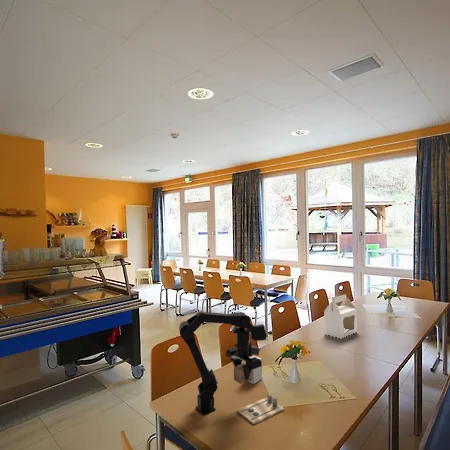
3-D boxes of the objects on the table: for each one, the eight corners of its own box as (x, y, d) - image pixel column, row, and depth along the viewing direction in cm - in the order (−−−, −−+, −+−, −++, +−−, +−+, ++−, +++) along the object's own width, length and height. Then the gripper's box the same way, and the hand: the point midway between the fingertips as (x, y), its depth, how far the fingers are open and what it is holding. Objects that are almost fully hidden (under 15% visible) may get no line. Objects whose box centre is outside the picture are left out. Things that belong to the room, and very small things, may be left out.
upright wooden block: (240, 384, 134) (240, 370, 134) (233, 379, 138) (233, 366, 138) (253, 379, 138) (252, 366, 138) (245, 375, 142) (245, 362, 142)
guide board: (253, 424, 123) (253, 415, 123) (237, 411, 132) (236, 402, 132) (284, 410, 132) (284, 401, 133) (266, 398, 142) (266, 390, 142)
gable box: (340, 328, 240) (339, 292, 241) (357, 332, 230) (356, 294, 231) (324, 334, 226) (323, 296, 227) (341, 339, 216) (340, 299, 217)
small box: (253, 375, 165) (253, 355, 165) (262, 378, 161) (262, 358, 161) (244, 381, 159) (244, 360, 159) (254, 384, 155) (253, 363, 155)
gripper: (270, 343, 135) (271, 379, 135) (243, 332, 150) (244, 364, 150) (251, 349, 128) (251, 387, 128) (224, 337, 144) (225, 371, 143)
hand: (243, 377), depth 138 cm, fingers closed on upright wooden block, 5 cm apart
